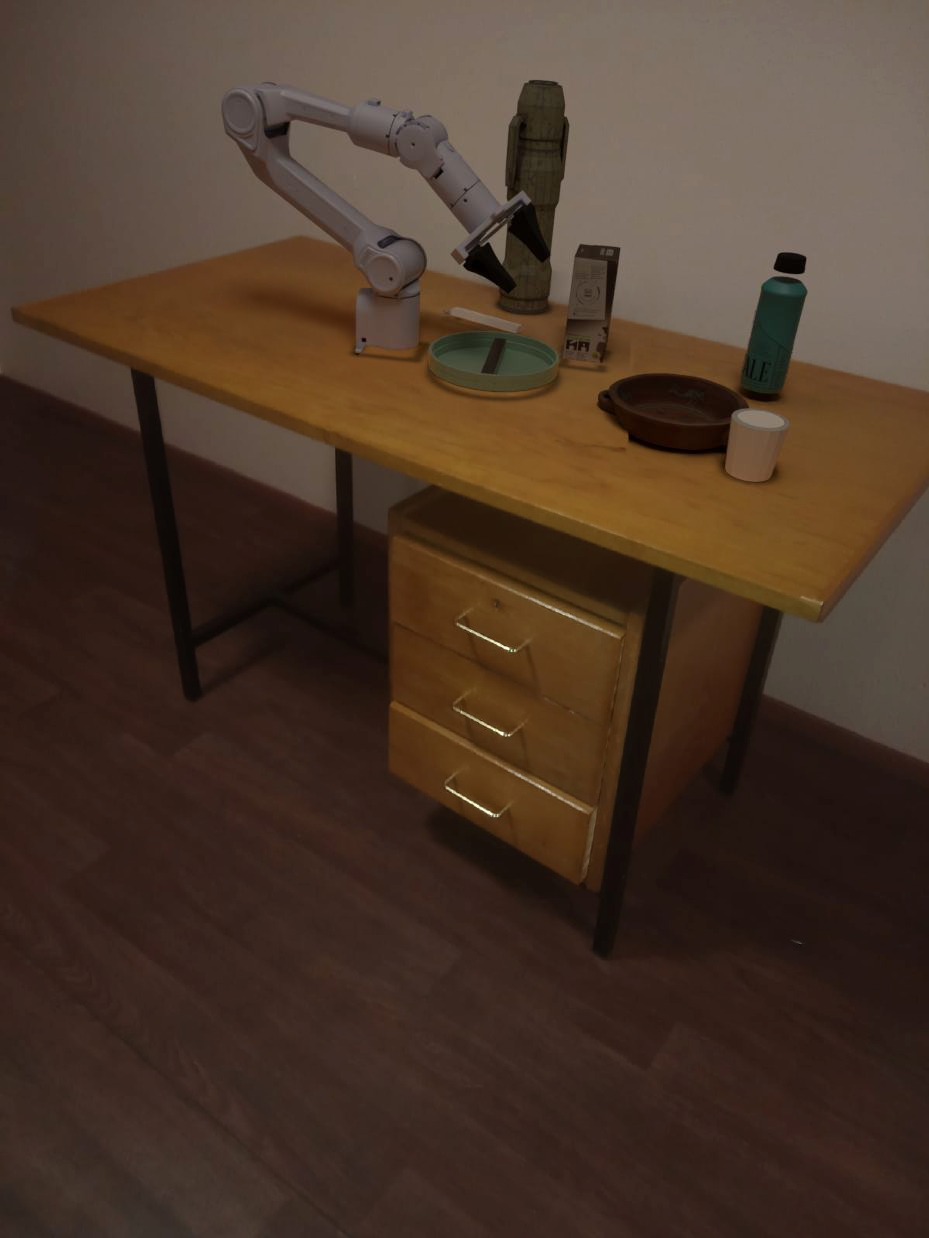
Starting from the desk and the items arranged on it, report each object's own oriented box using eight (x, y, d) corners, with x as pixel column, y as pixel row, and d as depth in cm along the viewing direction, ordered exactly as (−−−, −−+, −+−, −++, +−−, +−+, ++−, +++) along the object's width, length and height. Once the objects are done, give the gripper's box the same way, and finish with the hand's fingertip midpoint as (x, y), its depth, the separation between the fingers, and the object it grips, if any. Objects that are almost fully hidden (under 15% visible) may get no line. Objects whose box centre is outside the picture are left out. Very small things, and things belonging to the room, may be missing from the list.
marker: (441, 320, 163) (519, 341, 155) (435, 316, 161) (514, 337, 153) (446, 305, 162) (525, 325, 155) (440, 301, 160) (519, 321, 153)
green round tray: (417, 391, 133) (417, 367, 131) (440, 347, 149) (441, 325, 147) (551, 406, 132) (554, 382, 130) (560, 360, 147) (563, 338, 145)
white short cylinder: (712, 459, 120) (724, 406, 116) (765, 460, 121) (778, 407, 117) (729, 483, 115) (742, 429, 111) (784, 484, 115) (799, 430, 111)
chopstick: (479, 386, 133) (480, 373, 132) (493, 349, 146) (494, 337, 145) (492, 387, 133) (492, 375, 132) (505, 350, 146) (506, 338, 145)
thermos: (563, 307, 170) (589, 84, 150) (519, 319, 163) (540, 86, 143) (527, 295, 175) (547, 77, 155) (482, 306, 168) (497, 79, 148)
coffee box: (602, 371, 144) (618, 261, 135) (560, 365, 145) (573, 256, 136) (607, 351, 152) (622, 246, 143) (567, 347, 153) (579, 241, 143)
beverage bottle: (782, 391, 141) (818, 251, 130) (779, 407, 136) (817, 263, 125) (738, 384, 143) (770, 245, 132) (733, 399, 138) (766, 256, 126)
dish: (622, 392, 138) (628, 358, 135) (772, 431, 129) (781, 396, 126) (569, 431, 125) (573, 395, 122) (731, 477, 116) (740, 439, 113)
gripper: (441, 211, 125) (508, 292, 128) (511, 152, 130) (575, 232, 133) (423, 235, 132) (488, 312, 135) (491, 179, 137) (552, 254, 139)
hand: (529, 274), depth 134 cm, fingers open, 7 cm apart
